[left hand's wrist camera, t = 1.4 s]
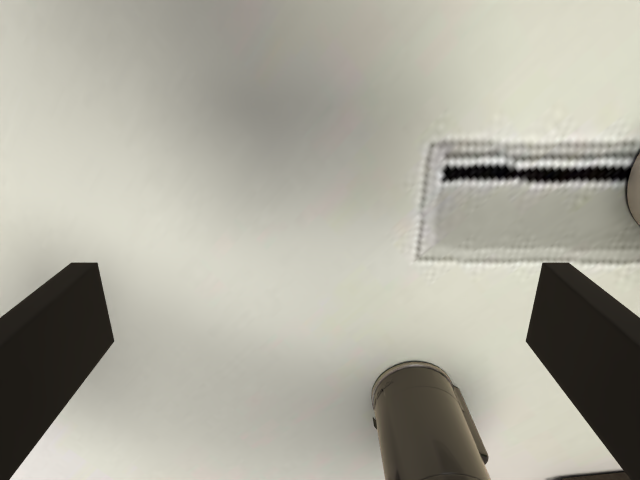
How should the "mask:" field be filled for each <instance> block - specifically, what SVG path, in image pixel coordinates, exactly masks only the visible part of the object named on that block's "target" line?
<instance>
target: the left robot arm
mask: <svg viewBox="0 0 640 480" xmlns="http://www.w3.org/2000/svg"><path fill="white" fill-rule="evenodd" d="M113 342H114V338H113V333H112V328H111V324H110V319H109V314H108V310H107V305H106V300H105V296H104V291H103V286H102V282H101V277H100V272H99V268H98V263H70V264H69V265H68V266H67V267H65V268H64V269H63V270H61V271H60V272H59V273H58V274H56V275H55V276H54V277H52V278H51V279H50V280H48V281H47V282H46V283H45V284H43V285H42V286H41V287H39V288H38V289H37V290H36V291H34V292H33V293H32V294H30V295H29V296H28V297H27V298H25V299H24V300H23V301H21V302H20V303H19V304H18V305H16V306H15V307H14V308H12V309H11V310H10V311H9V312H7V313H6V314H5V315H3V316H2V317H1V318H0V480H9V479H10V478H11V477H12V475H13V474H14V473H15V471H16V470H17V469H18V468H19V466H20V465H21V464H22V462H23V461H24V460H25V458H26V457H27V456H28V454H29V453H30V452H31V450H32V449H33V448H34V446H35V445H36V444H37V442H38V441H39V440H40V439H41V437H42V436H43V435H44V433H45V432H46V431H47V429H48V428H49V427H50V425H51V424H52V423H53V421H54V420H55V419H56V417H57V416H58V415H59V413H60V412H61V411H62V409H63V408H64V407H65V406H66V404H67V403H68V402H69V400H70V399H71V398H72V396H73V395H74V394H75V392H76V391H77V390H78V388H79V387H80V386H81V384H82V383H83V382H84V380H85V379H86V378H87V377H88V375H89V374H90V373H91V371H92V370H93V369H94V367H95V366H96V365H97V363H98V362H99V361H100V359H101V358H102V357H103V355H104V354H105V353H106V351H107V350H108V349H109V347H110V346H111V345H112V344H113ZM526 342H527V344H528V345H529V346H530V347H531V349H532V350H533V351H534V353H535V354H536V355H537V357H538V358H539V359H540V361H541V362H542V363H543V365H544V366H545V367H546V369H547V370H548V371H549V373H550V374H551V375H552V377H553V378H554V379H555V380H556V382H557V383H558V384H559V386H560V387H561V388H562V390H563V391H564V392H565V394H566V395H567V396H568V398H569V399H570V400H571V402H572V403H573V404H574V406H575V407H576V408H577V409H578V411H579V412H580V413H581V415H582V416H583V417H584V419H585V420H586V421H587V423H588V424H589V425H590V427H591V428H592V429H593V431H594V432H595V433H596V435H597V436H598V437H599V439H600V440H601V441H602V442H603V444H604V445H605V446H606V448H607V449H608V450H609V452H610V453H611V454H612V456H613V457H614V458H615V460H616V461H617V462H618V464H619V465H620V466H621V468H622V469H623V470H624V471H625V473H626V474H627V475H628V477H629V478H630V479H631V480H640V318H639V317H638V316H637V315H635V314H634V313H633V312H631V311H630V310H629V309H628V308H626V307H625V306H624V305H622V304H621V303H620V302H619V301H617V300H616V299H615V298H613V297H612V296H611V295H610V294H608V293H607V292H606V291H604V290H603V289H602V288H601V287H599V286H598V285H597V284H595V283H594V282H593V281H592V280H590V279H589V278H588V277H586V276H585V275H584V274H582V273H581V272H580V271H579V270H577V269H576V268H575V267H573V266H572V265H571V264H570V263H542V268H541V272H540V277H539V282H538V286H537V291H536V296H535V300H534V305H533V310H532V314H531V319H530V324H529V328H528V333H527V338H526Z"/></svg>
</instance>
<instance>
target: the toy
mask: <svg viewBox="0 0 640 480" xmlns="http://www.w3.org/2000/svg"><path fill="white" fill-rule="evenodd" d="M562 480H631V479H630V478H629V477H628V475H627V474H626V473H625V472H620V473H610V474H601V475H591V476H581V477H571V478H562Z"/></svg>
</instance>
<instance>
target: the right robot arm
mask: <svg viewBox="0 0 640 480" xmlns="http://www.w3.org/2000/svg"><path fill="white" fill-rule="evenodd" d="M372 404H373V409H374V411H375V418H376V420H375V419H374V418H373V422H374V427H375V428H376V429H377V431H378V437H379V443H380V450H381V456H382V462H383V468H384V474H385V480H491V479H490V477H489V474H488V472H487V469H486V467H485V464H486V463H487V462H488V454H487V452H486V449H485V447H484V445H483V442H482V440H481V438H480V436H479V433H478V431H477V429H476V426H475V424H474V422H473V419H472V417H471V415H470V413H469V410H468V408H467V406H466V403H465V401H464V399H463V397H462V394H461V392H460V390H459V388H456V387H454V386H453V385H452V382H451V380H450V378H449V377H448V375H447V374H446V373H445V372H444V371H443V370H441V369H440V368H438V367H436V366H434V365H431V364H428V363H424V362H408V363H403V364H399V365H397V366H394V367H392V368H390V369H389V370H387V371H386V372H384V373H383V374H382V375H381V376H380V377H379V378H378V380H377V381H376V383H375V385H374V387H373V390H372Z"/></svg>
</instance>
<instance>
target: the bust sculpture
mask: <svg viewBox="0 0 640 480" xmlns="http://www.w3.org/2000/svg"><path fill="white" fill-rule="evenodd" d="M627 198H628V204H629V208H630V211H631V213H632V215H633V217H634V219H635V220H636V221H637V223H638V224H639V225H640V153H639V155H638V157H637V159H636V160H635V163H634V165H633V167H632V170H631V173H630V176H629V180H628V187H627Z"/></svg>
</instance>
